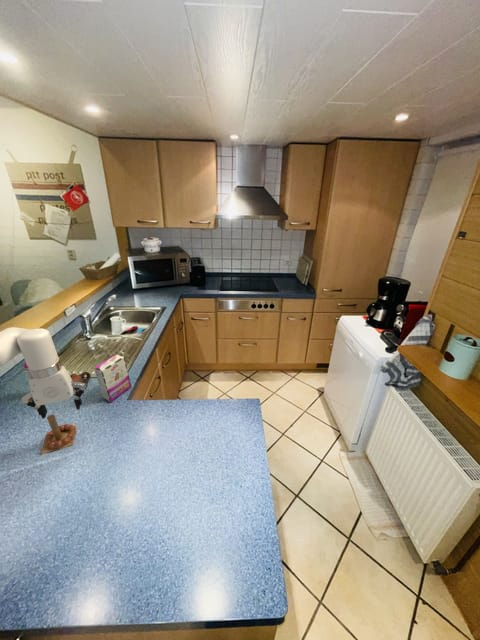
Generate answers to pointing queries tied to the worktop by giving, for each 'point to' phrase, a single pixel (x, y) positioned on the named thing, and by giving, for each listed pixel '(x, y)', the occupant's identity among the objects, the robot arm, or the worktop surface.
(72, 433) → the ring
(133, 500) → the worktop surface
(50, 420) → the post
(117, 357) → the candy bar box
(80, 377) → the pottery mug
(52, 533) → the worktop surface
